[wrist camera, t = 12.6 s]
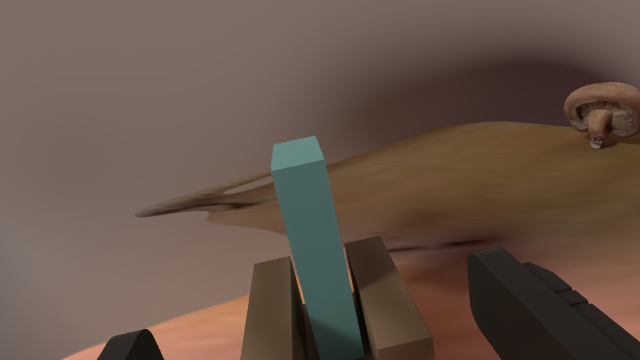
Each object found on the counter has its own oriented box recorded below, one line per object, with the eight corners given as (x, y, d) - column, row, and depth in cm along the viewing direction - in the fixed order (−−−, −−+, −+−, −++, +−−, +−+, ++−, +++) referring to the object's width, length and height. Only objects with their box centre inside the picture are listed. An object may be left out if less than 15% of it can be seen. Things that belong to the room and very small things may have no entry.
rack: (252, 479, 16) (217, 396, 15) (264, 324, 26) (244, 262, 24) (461, 429, 17) (454, 341, 15) (398, 294, 26) (388, 229, 24)
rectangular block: (322, 366, 20) (270, 171, 16) (315, 307, 25) (273, 144, 21) (364, 356, 20) (324, 159, 16) (349, 299, 25) (315, 135, 21)
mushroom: (552, 147, 46) (553, 84, 43) (593, 136, 46) (597, 73, 44) (607, 163, 39) (614, 88, 36) (655, 149, 39) (665, 75, 37)
